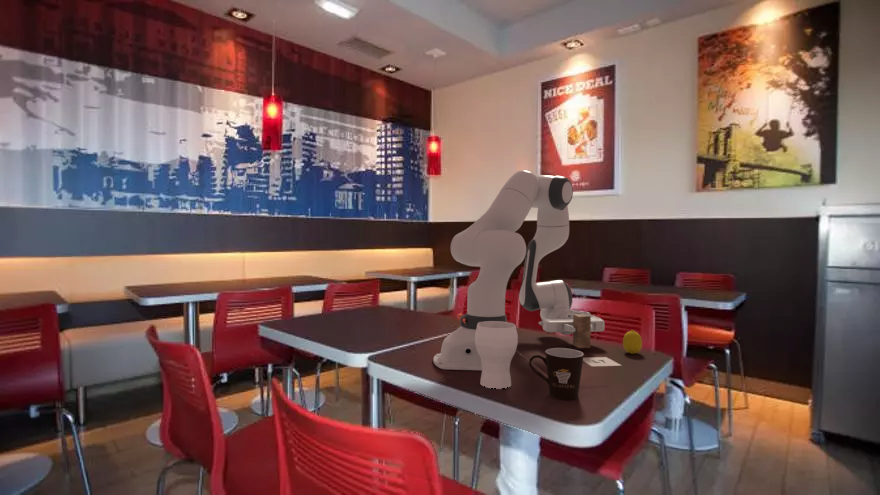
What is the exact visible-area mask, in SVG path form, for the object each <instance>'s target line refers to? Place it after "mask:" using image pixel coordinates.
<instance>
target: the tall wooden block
mask: <svg viewBox="0 0 880 495" xmlns="http://www.w3.org/2000/svg"><path fill="white" fill-rule="evenodd" d="M573 326H576V327H577V332H573V334H572V345H573V346H575V347H576V348H577V349H590V348H591V339H592V338H591V336H592V335H591V333H592V332H591V316H589V315H586V314H573Z"/></svg>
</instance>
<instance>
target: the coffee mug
mask: <svg viewBox="0 0 880 495" xmlns="http://www.w3.org/2000/svg"><path fill="white" fill-rule="evenodd" d="M544 353H545V354H544V355H545V357H544V356H542V355H540V354H536V355H535V354H534V355H533V356H531V357H530V359H529V361H528V364H529V367H530V369H531V370H532V371H533V372H534V373H535V374H536V375H537V376H538V377H539V378H541V379H543V380H544V381H545V382H546V384H547V385H548V390H549V392H548V393H549V396H550V395H551V396H550V397H552V398H554V399H557V400H563V401H572V400H573V401H574V400H577V399H578V398H579V393H580V392H579V391H580V385H581V384H580V383H581V375H582V370H583V363H584V361H583V358H584V352H582V351H580V350H577V349H572V348H566V347H554V348H553V347H552V348H551V347H550V348H547V349H546V350H545V351H544ZM536 358H537V359H541V360H542V361H543V362H544V364H545V366H546V372H547V377H546V376H544V375H543V374H541V373H540V372H538V371H537V370H536V369H535V367H533V365H532V362H533V360H534V359H536Z"/></svg>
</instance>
